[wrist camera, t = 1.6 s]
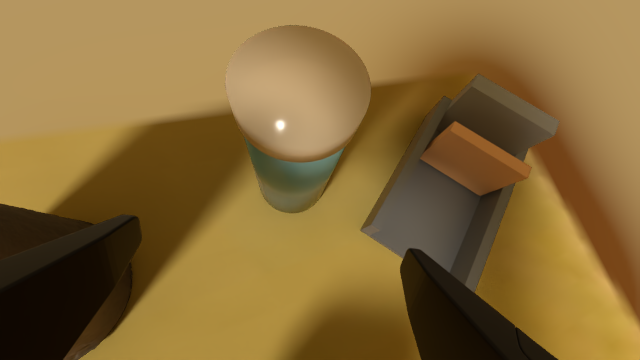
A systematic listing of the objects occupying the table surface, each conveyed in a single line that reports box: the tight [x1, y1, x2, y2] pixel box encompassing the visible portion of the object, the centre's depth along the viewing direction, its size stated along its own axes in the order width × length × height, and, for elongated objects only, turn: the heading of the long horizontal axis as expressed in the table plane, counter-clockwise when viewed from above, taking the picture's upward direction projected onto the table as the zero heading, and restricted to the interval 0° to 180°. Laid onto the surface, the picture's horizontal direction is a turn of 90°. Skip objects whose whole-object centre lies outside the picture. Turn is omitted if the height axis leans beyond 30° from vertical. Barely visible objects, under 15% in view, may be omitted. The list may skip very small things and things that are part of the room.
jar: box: [225, 25, 371, 213], centre depth 17 cm, size 6×6×13 cm
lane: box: [361, 74, 559, 292], centre depth 21 cm, size 14×9×6 cm, turn 147°
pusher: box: [420, 121, 532, 196], centre depth 22 cm, size 1×6×5 cm, turn 57°
